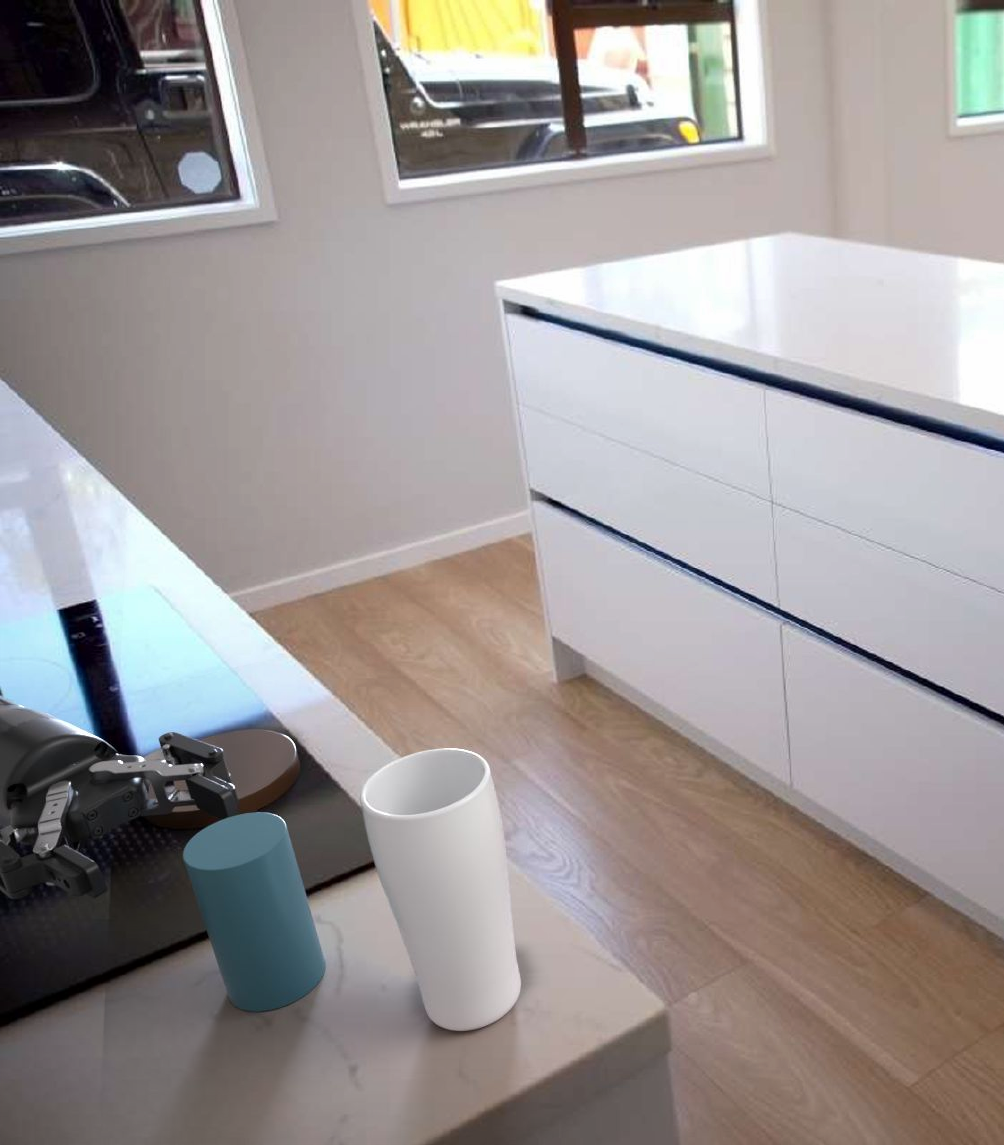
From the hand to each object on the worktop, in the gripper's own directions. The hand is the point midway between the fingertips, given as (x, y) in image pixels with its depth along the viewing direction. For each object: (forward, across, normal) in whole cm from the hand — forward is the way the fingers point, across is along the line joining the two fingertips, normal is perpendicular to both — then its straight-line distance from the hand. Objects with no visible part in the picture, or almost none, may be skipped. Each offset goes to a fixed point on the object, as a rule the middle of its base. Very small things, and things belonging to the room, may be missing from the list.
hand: (167, 842), depth 79 cm
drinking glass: (+20, +4, +7) cm, 22 cm away
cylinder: (+9, 0, +7) cm, 11 cm away
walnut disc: (-14, +11, +7) cm, 19 cm away
